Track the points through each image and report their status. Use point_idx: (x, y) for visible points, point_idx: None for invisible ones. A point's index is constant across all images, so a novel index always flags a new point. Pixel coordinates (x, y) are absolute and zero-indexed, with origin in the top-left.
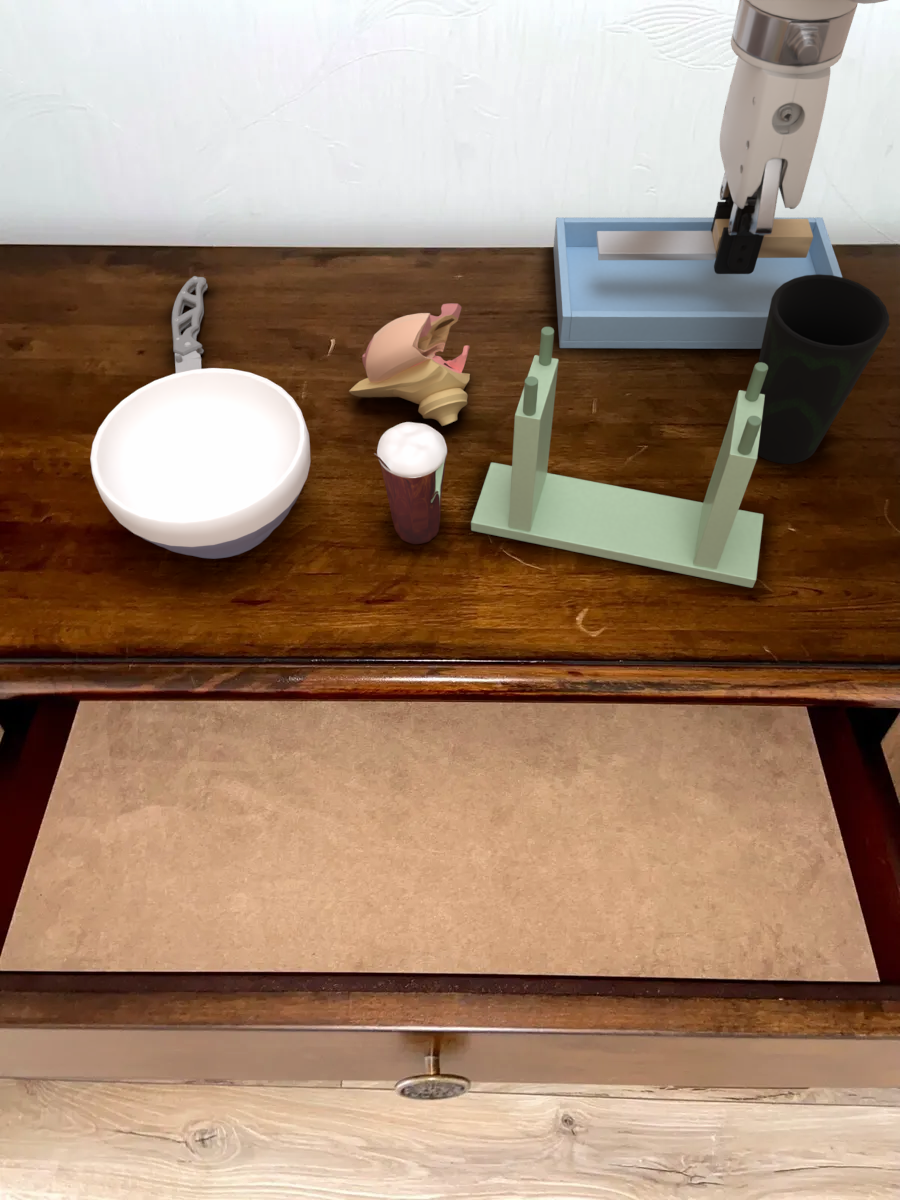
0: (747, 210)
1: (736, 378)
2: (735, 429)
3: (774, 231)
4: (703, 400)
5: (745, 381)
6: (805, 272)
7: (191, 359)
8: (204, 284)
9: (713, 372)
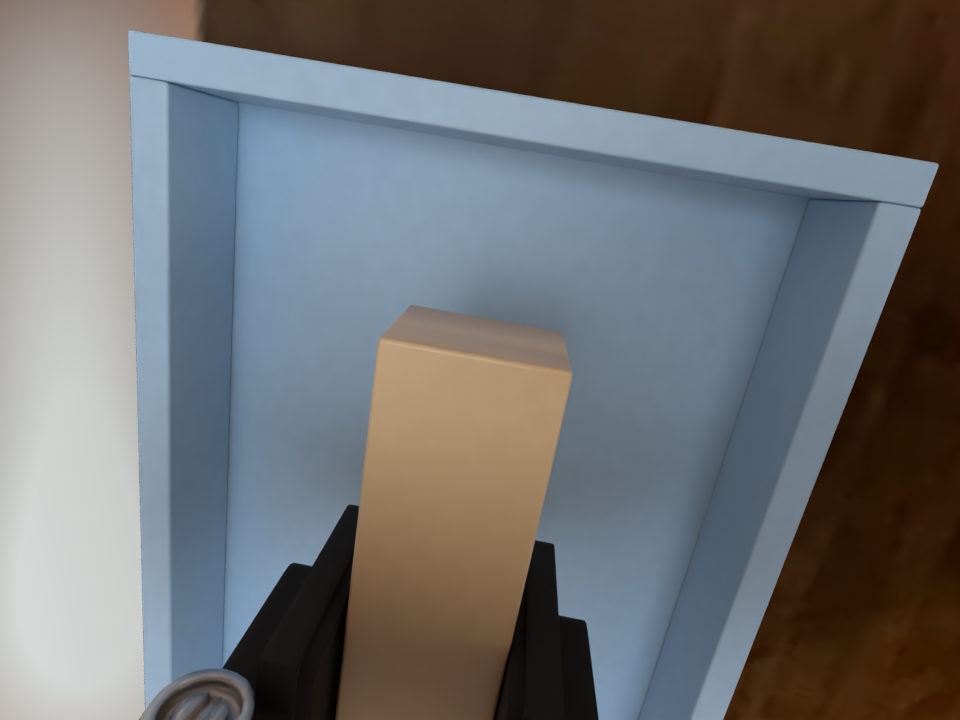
0: (316, 698)
1: (843, 558)
2: None
3: (475, 567)
4: (897, 666)
5: (866, 539)
6: (403, 175)
7: None
8: None
9: (794, 607)
